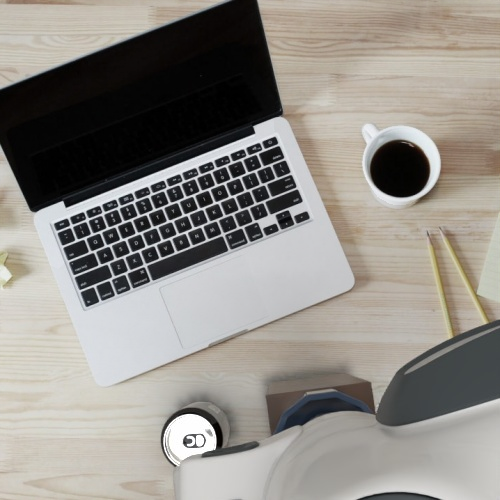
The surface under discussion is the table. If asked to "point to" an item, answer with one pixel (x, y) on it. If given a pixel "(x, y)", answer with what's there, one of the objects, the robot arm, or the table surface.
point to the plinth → (291, 389)
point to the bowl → (317, 407)
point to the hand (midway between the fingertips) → (334, 461)
